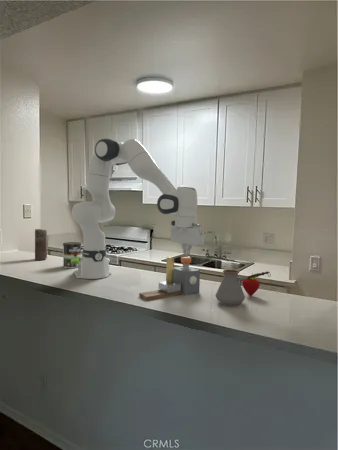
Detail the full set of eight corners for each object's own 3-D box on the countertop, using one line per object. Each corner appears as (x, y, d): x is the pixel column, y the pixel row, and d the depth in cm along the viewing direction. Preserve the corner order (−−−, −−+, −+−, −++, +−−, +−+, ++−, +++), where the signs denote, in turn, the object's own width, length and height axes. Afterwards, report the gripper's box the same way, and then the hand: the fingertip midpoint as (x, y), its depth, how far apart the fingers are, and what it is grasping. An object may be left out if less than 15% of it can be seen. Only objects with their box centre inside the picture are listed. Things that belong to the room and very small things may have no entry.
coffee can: (83, 267, 185) (83, 243, 184) (66, 269, 179) (66, 244, 178) (76, 264, 193) (76, 241, 192) (60, 266, 187) (60, 242, 186)
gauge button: (178, 281, 140) (178, 257, 139) (186, 280, 142) (187, 256, 142) (184, 284, 136) (185, 259, 135) (192, 282, 139) (193, 258, 138)
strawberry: (244, 292, 139) (245, 270, 138) (261, 295, 135) (262, 273, 134) (239, 295, 134) (240, 272, 133) (256, 299, 130) (257, 275, 129)
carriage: (158, 288, 136) (159, 257, 135) (171, 286, 140) (172, 255, 139) (167, 292, 130) (168, 259, 129) (180, 290, 134) (181, 258, 133)
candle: (39, 258, 210) (38, 228, 208) (49, 258, 208) (49, 229, 207) (32, 260, 202) (32, 229, 201) (43, 260, 201) (42, 230, 199)
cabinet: (171, 289, 142) (172, 267, 141) (185, 287, 146) (186, 266, 145) (185, 295, 133) (186, 272, 132) (200, 292, 137) (200, 270, 136)
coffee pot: (210, 303, 123) (211, 266, 122) (223, 296, 132) (224, 261, 131) (263, 316, 110) (264, 274, 109) (273, 307, 119) (275, 269, 118)
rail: (139, 296, 130) (139, 293, 130) (173, 290, 140) (173, 287, 140) (146, 300, 125) (146, 296, 125) (181, 294, 135) (181, 290, 135)
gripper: (208, 224, 130) (207, 256, 131) (179, 221, 147) (178, 250, 148) (196, 224, 127) (195, 258, 128) (168, 221, 144) (167, 251, 145)
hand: (186, 253), depth 138 cm, fingers closed
